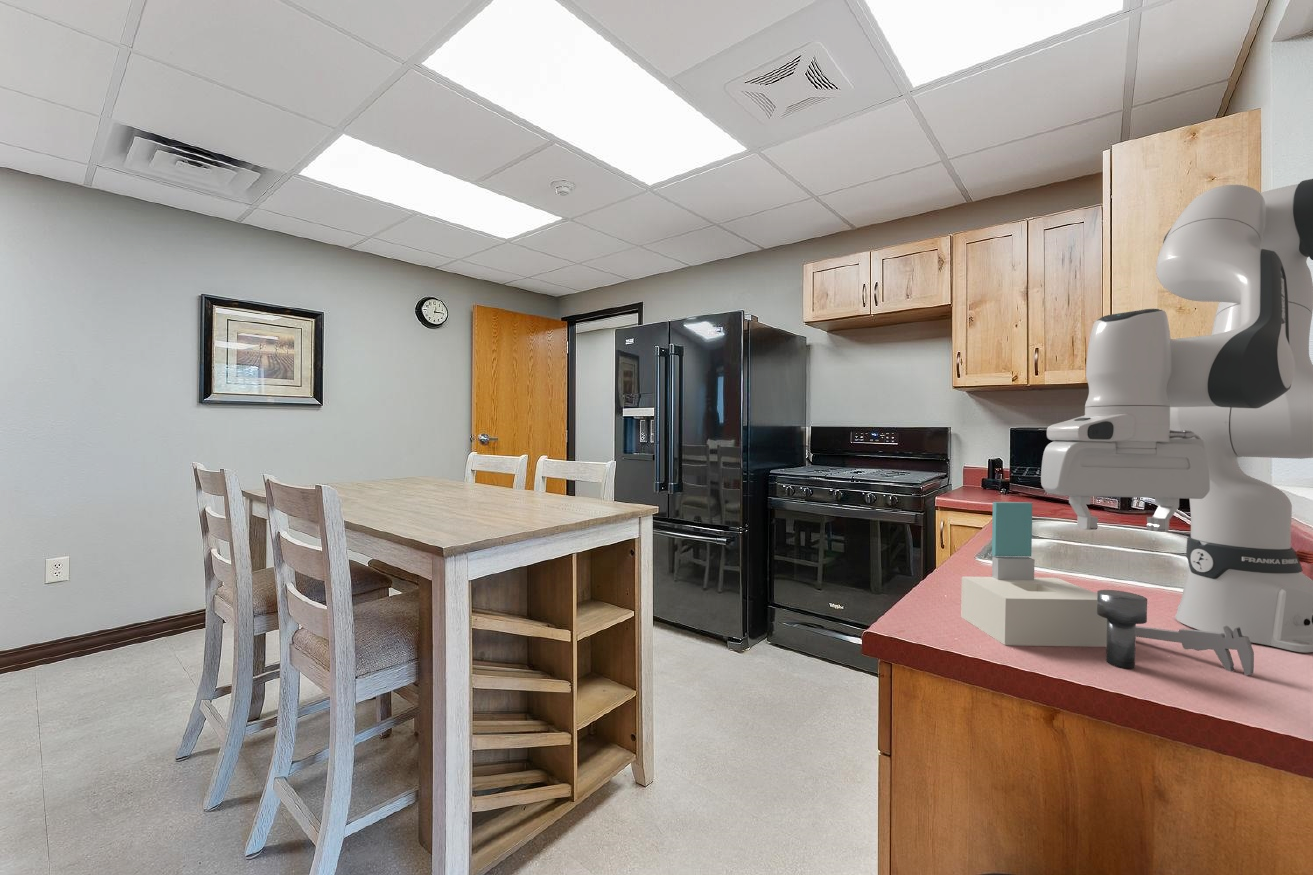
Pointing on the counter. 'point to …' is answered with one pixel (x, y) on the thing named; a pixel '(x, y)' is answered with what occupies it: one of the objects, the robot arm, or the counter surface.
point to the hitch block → (1031, 607)
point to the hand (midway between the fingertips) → (1122, 530)
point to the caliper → (1208, 643)
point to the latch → (1012, 529)
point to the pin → (1121, 624)
